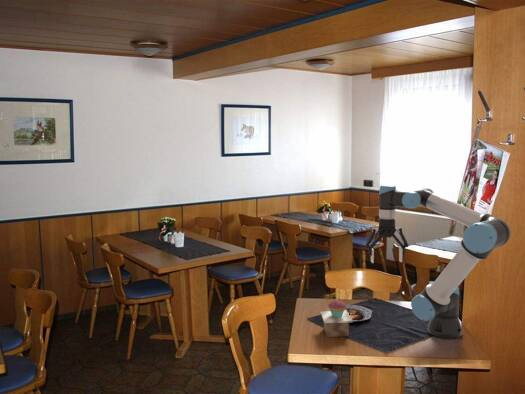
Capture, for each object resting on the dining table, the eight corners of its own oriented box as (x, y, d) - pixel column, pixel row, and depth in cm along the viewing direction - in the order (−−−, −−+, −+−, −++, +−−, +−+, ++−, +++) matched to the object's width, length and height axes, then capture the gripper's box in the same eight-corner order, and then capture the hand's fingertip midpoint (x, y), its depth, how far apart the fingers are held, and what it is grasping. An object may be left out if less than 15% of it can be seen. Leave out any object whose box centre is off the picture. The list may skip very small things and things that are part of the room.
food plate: (369, 326, 251) (369, 319, 251) (321, 323, 257) (321, 316, 257) (373, 310, 275) (373, 304, 275) (329, 307, 281) (329, 301, 281)
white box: (347, 326, 252) (347, 310, 251) (352, 337, 239) (352, 320, 238) (320, 327, 251) (320, 311, 250) (324, 338, 238) (324, 321, 237)
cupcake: (326, 313, 248) (326, 288, 246) (343, 312, 249) (343, 287, 247) (330, 319, 239) (330, 294, 238) (348, 318, 240) (349, 293, 239)
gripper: (410, 215, 249) (410, 259, 252) (358, 217, 248) (358, 260, 251) (415, 218, 241) (415, 263, 244) (362, 219, 241) (362, 264, 243)
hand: (386, 262), depth 248 cm, fingers open, 13 cm apart
